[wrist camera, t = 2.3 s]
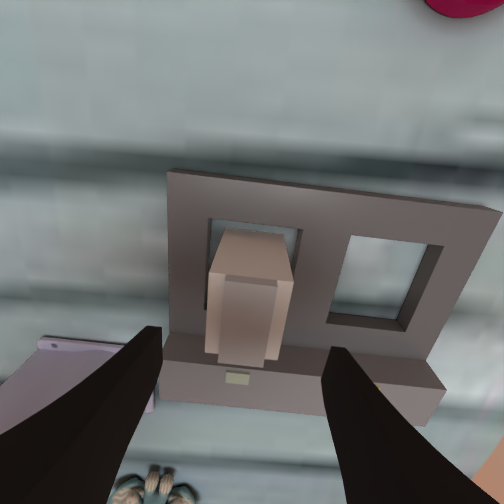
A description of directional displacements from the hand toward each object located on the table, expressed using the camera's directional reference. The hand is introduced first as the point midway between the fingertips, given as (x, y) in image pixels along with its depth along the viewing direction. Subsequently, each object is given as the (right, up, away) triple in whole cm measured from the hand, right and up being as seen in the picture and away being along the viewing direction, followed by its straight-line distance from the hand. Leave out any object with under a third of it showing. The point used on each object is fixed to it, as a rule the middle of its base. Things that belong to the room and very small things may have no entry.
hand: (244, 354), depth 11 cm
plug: (0, +4, +8) cm, 9 cm away
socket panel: (+4, +1, +9) cm, 10 cm away
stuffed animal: (-11, -25, +22) cm, 35 cm away
